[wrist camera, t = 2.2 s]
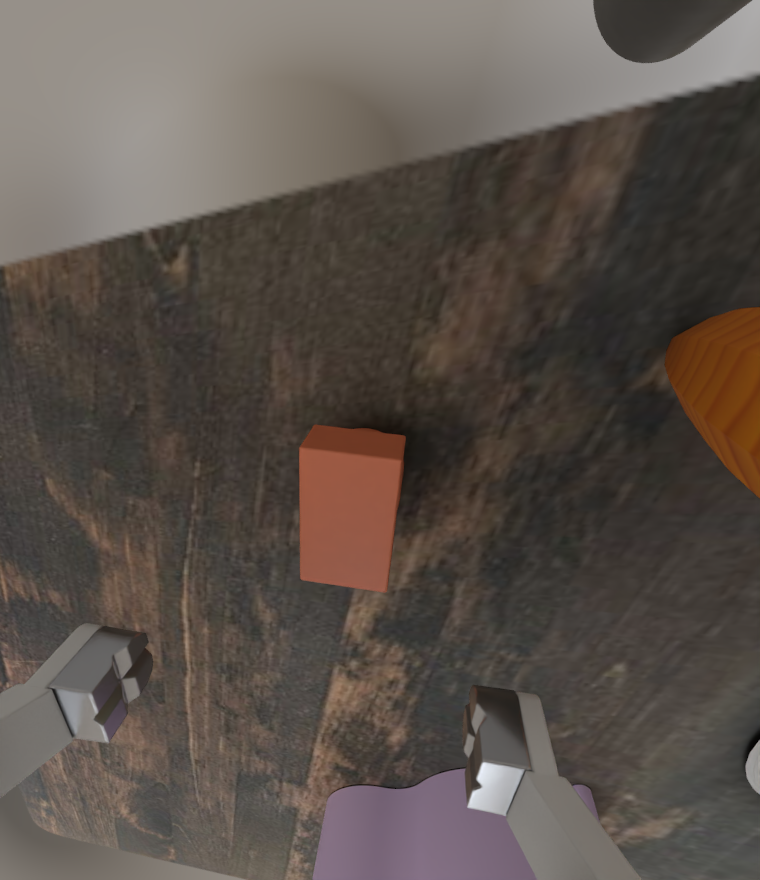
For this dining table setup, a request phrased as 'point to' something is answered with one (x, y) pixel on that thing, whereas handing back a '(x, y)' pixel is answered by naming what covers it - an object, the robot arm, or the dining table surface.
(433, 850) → the clip
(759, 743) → the chalice
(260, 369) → the dining table surface
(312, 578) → the pad piece
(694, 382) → the carrot
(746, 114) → the dining table surface
